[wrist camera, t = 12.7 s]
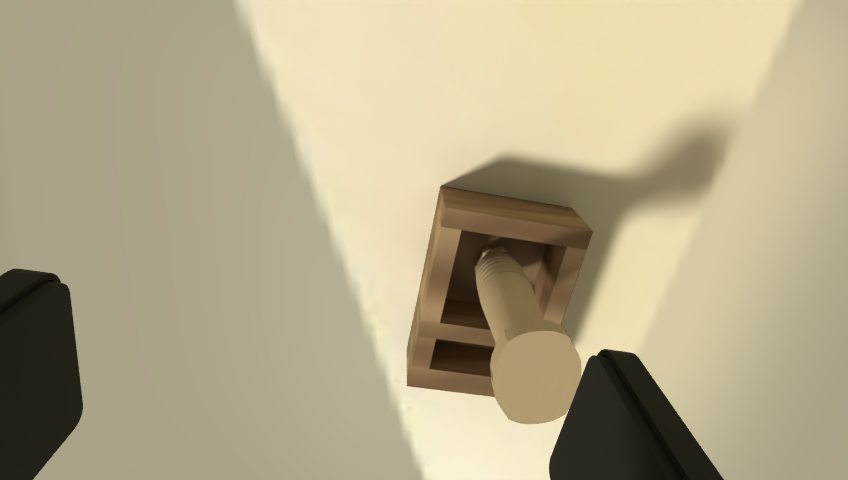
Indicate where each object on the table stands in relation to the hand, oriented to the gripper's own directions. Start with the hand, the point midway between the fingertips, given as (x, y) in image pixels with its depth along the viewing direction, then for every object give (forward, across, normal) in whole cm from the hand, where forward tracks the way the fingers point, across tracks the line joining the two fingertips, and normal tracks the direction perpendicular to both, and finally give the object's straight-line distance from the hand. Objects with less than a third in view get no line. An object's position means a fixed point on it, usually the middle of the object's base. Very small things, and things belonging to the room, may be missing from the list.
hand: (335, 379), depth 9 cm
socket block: (+30, -10, +13) cm, 35 cm away
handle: (+30, -10, +10) cm, 33 cm away
